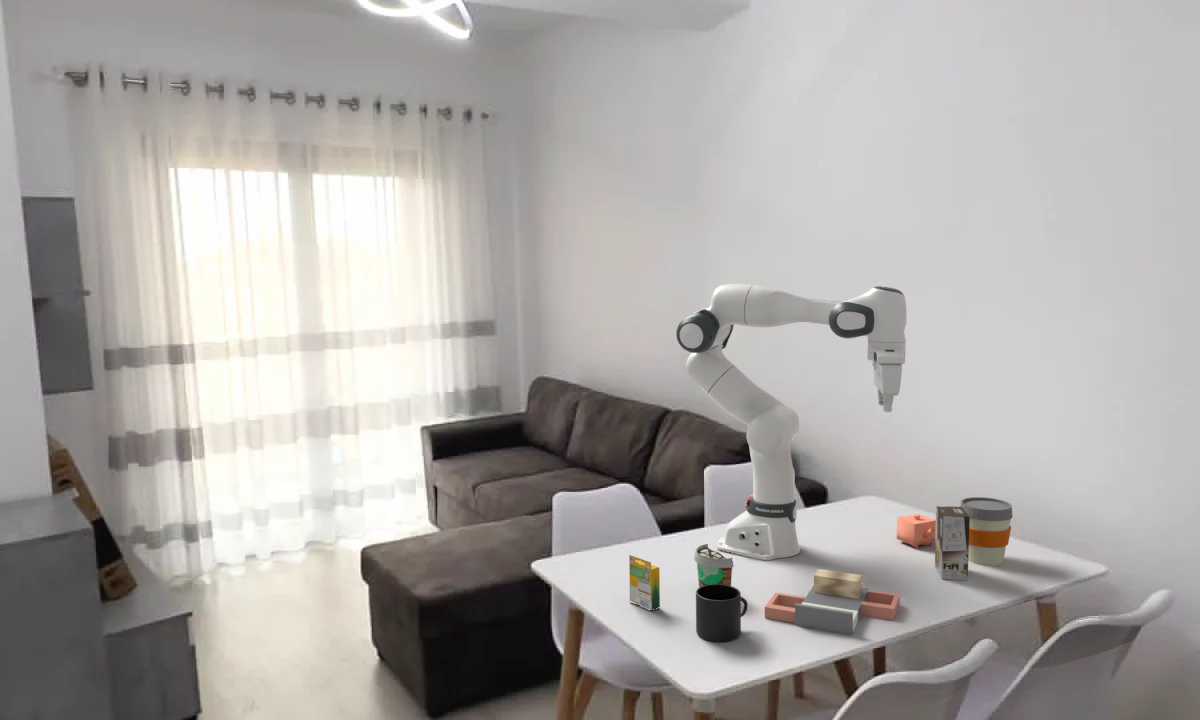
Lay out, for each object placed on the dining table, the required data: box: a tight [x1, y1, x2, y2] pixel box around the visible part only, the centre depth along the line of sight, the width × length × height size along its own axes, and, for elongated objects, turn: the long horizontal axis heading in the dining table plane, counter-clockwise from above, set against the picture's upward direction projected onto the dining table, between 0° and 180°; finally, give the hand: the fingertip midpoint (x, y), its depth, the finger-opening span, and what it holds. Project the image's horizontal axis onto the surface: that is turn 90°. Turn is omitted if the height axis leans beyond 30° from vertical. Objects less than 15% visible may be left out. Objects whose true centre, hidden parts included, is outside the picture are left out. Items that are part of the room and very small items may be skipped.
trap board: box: [764, 584, 901, 636], centre depth 189 cm, size 26×21×4 cm
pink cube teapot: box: [896, 513, 936, 548], centre depth 232 cm, size 8×12×8 cm, turn 22°
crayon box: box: [628, 554, 661, 610], centre depth 194 cm, size 7×3×12 cm, turn 42°
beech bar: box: [813, 568, 863, 599], centre depth 194 cm, size 10×4×4 cm, turn 63°
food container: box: [693, 543, 734, 588], centre depth 201 cm, size 12×6×10 cm, turn 23°
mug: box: [695, 584, 749, 643], centre depth 180 cm, size 9×12×9 cm
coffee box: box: [934, 505, 970, 581], centre depth 210 cm, size 9×6×16 cm
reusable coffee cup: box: [959, 496, 1013, 566], centre depth 219 cm, size 12×13×15 cm
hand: (884, 408), depth 209 cm, fingers open, 8 cm apart
